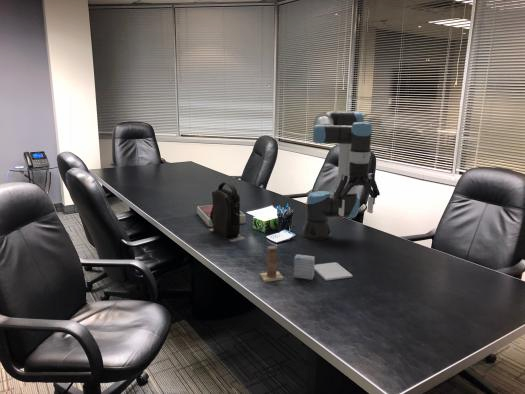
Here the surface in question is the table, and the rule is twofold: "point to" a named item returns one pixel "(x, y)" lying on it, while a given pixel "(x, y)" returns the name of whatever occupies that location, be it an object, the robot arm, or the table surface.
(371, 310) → the table surface
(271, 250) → the wooden stamp
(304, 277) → the medicine box
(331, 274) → the mat
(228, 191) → the shoulder bag
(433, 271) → the table surface
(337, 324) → the table surface
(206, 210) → the product packaging
